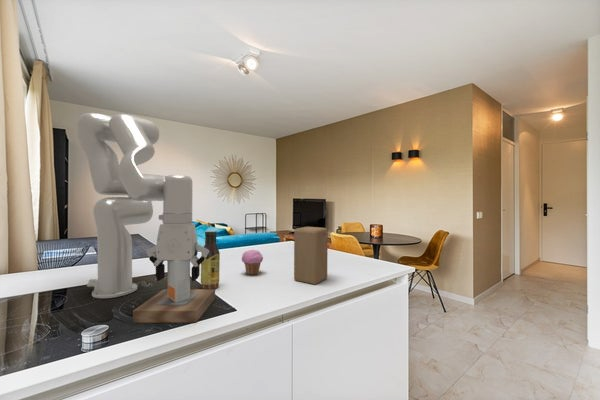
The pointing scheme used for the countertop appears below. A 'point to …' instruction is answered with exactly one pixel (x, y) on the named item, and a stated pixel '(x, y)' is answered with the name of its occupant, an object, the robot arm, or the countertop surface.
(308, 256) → the wooden block
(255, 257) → the cupcake
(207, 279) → the sauce bottle
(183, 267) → the skincare box
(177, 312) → the walnut picture frame
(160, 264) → the robot arm
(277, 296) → the countertop surface
